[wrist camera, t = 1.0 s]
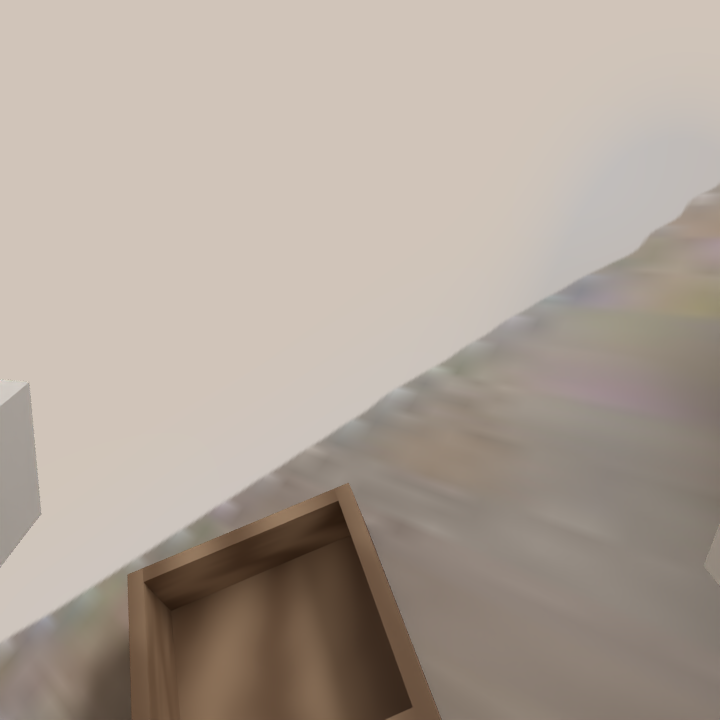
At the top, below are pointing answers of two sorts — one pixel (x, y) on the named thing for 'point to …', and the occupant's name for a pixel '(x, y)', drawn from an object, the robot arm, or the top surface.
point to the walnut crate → (275, 625)
